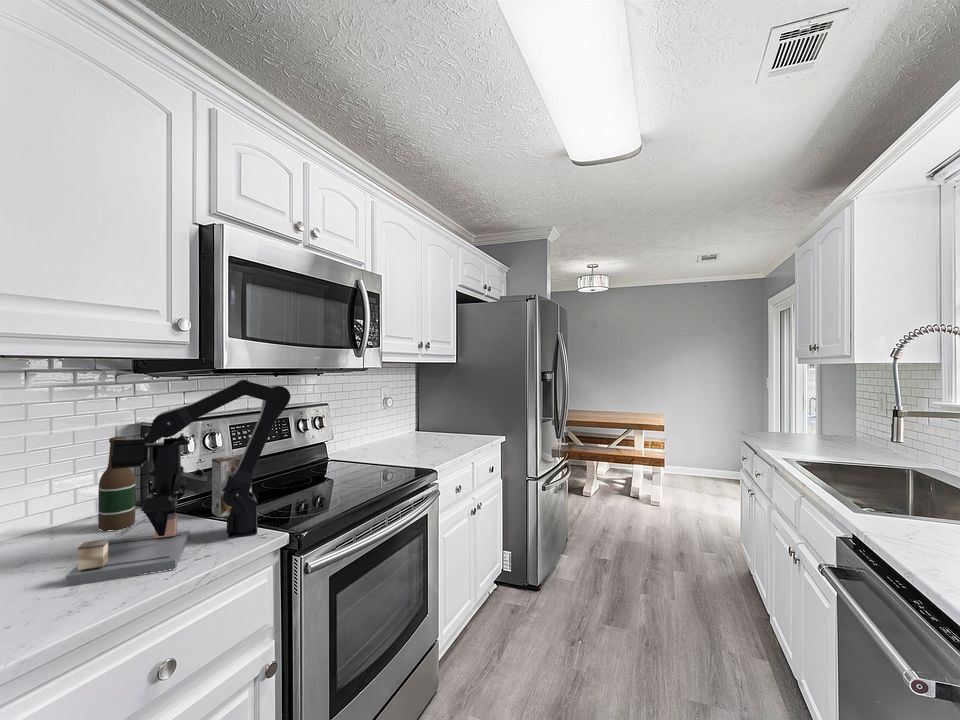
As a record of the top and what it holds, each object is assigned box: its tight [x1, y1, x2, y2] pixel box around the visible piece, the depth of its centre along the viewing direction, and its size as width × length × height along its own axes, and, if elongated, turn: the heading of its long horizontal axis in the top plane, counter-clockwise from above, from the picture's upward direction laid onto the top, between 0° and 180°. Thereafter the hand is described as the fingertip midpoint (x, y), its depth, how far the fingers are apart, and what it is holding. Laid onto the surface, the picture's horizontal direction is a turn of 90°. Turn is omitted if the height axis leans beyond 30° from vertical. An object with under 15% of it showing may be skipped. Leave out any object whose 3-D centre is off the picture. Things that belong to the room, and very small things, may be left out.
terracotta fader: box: [154, 512, 178, 538], centre depth 111 cm, size 4×3×4 cm
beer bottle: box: [97, 435, 137, 532], centre depth 124 cm, size 8×8×24 cm
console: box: [66, 530, 191, 587], centre depth 103 cm, size 18×19×2 cm
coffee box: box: [211, 453, 253, 518], centre depth 137 cm, size 9×6×16 cm
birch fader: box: [77, 538, 109, 570], centre depth 94 cm, size 4×3×4 cm
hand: (165, 529), depth 111 cm, fingers open, 9 cm apart
